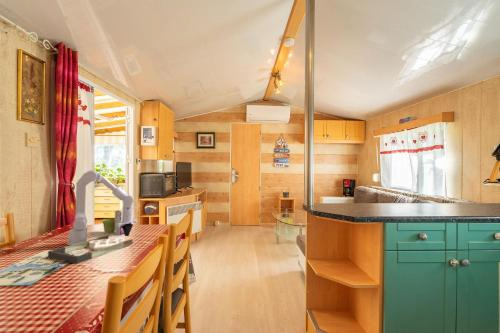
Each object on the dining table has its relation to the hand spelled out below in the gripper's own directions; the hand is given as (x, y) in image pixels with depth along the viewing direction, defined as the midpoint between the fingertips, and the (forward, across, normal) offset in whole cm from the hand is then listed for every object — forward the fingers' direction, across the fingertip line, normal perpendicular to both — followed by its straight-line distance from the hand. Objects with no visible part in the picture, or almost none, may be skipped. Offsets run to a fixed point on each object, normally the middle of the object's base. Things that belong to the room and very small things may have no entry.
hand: (126, 235), depth 166 cm
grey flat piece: (+3, -19, 0) cm, 19 cm away
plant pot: (+3, +9, +25) cm, 27 cm away
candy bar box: (+3, +11, +15) cm, 19 cm away
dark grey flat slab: (+2, -36, 0) cm, 36 cm away
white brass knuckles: (+3, -15, 0) cm, 15 cm away
